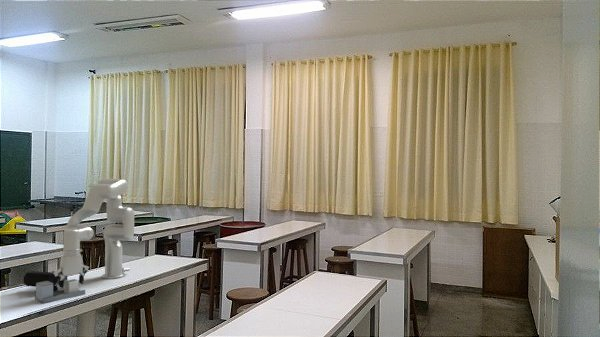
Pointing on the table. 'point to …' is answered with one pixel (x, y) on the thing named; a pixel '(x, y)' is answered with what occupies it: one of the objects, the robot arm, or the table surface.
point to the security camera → (40, 278)
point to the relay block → (59, 275)
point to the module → (70, 286)
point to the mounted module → (44, 290)
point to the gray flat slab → (60, 296)
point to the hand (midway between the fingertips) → (71, 285)
